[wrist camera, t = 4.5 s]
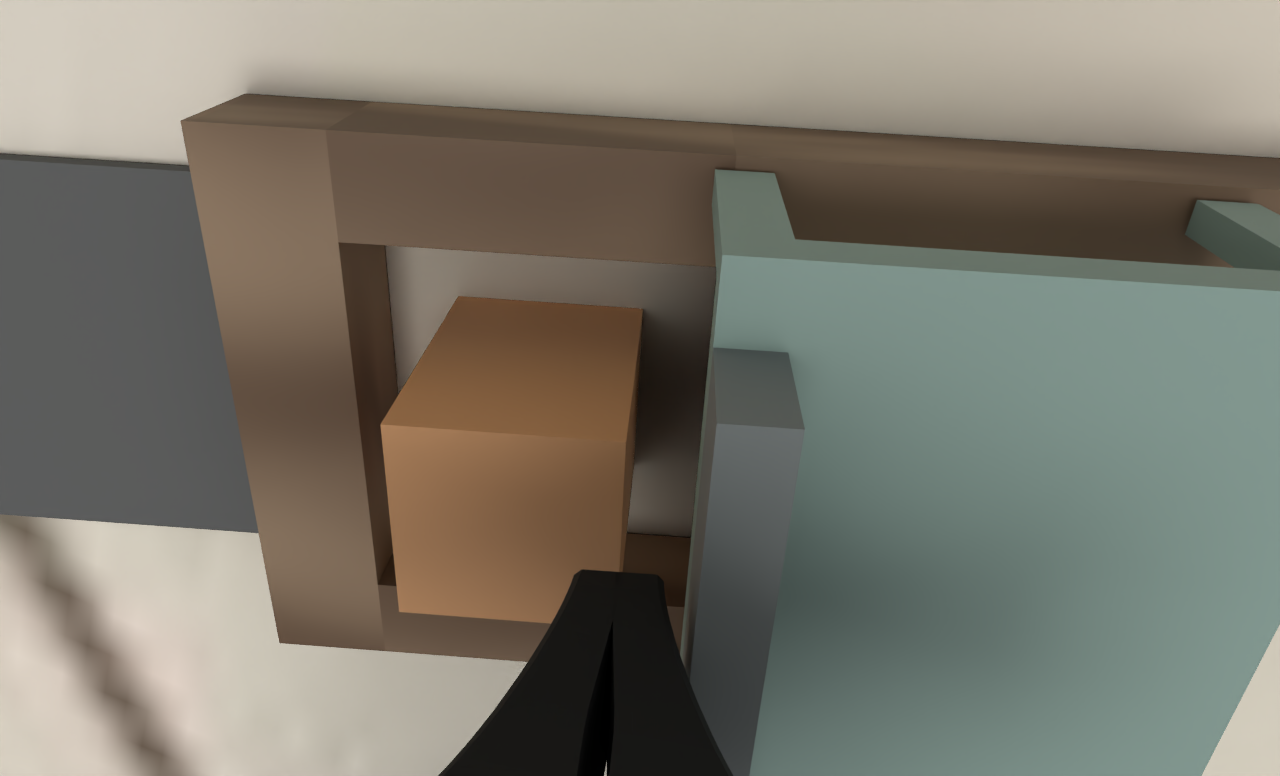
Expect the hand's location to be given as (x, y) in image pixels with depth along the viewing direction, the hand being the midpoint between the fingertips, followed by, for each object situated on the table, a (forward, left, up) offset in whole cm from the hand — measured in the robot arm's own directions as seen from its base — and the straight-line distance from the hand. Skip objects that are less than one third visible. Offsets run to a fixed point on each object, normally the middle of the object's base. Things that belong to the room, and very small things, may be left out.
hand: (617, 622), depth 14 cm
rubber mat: (0, +14, -7) cm, 15 cm away
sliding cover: (0, -6, -5) cm, 7 cm away
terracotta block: (0, +2, -8) cm, 8 cm away
